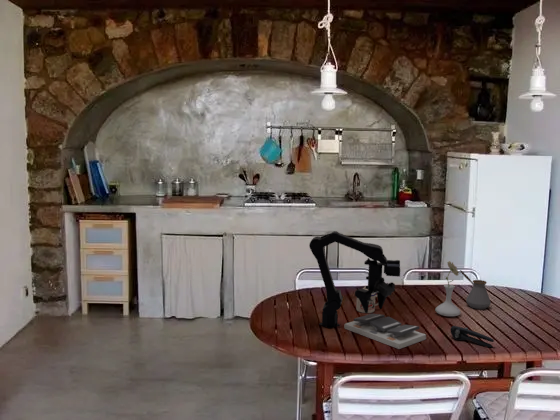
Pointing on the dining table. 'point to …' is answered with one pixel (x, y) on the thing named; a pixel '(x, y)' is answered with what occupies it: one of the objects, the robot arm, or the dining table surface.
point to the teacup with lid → (371, 304)
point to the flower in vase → (449, 297)
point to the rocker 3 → (402, 329)
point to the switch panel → (385, 334)
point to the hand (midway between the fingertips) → (373, 310)
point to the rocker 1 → (369, 318)
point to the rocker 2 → (385, 323)
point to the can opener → (462, 333)
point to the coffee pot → (477, 294)
